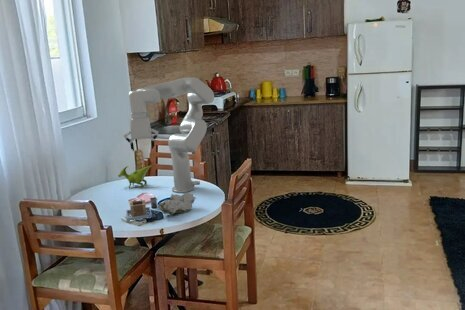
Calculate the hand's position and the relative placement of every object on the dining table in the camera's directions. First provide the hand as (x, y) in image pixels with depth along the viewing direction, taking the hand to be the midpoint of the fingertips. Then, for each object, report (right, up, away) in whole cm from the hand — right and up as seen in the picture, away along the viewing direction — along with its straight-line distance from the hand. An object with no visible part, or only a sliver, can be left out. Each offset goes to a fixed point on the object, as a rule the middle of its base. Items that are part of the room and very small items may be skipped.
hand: (143, 149), depth 231 cm
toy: (-11, -22, +38) cm, 45 cm away
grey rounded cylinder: (+6, -29, -2) cm, 30 cm away
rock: (+19, -30, -11) cm, 38 cm away
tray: (+1, -32, -13) cm, 35 cm away
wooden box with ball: (+1, -31, -13) cm, 34 cm away
